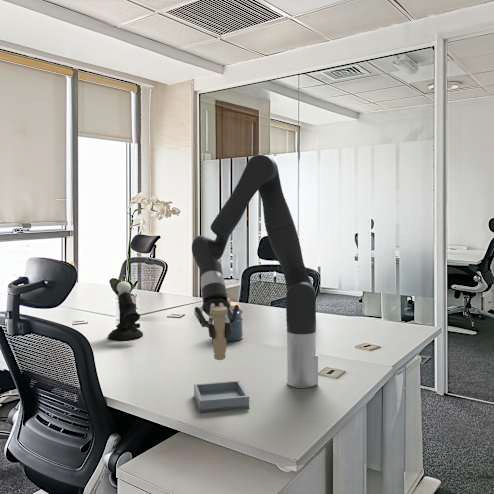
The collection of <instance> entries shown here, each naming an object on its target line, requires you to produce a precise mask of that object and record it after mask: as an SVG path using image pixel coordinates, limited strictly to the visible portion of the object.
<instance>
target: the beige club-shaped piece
mask: <svg viewBox="0 0 494 494" xmlns="http://www.w3.org/2000/svg"><path fill="white" fill-rule="evenodd" d="M210 312H211V314H212V315H213V318H214V321H213V325H214V332H215V339H212V349H213V359H214V360H217V361H223V360H224V359H226V351H227V342H226V331H225V315H226V314H227V312H228V309H227V307H224V306H215V307H211V308H210Z"/></svg>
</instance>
